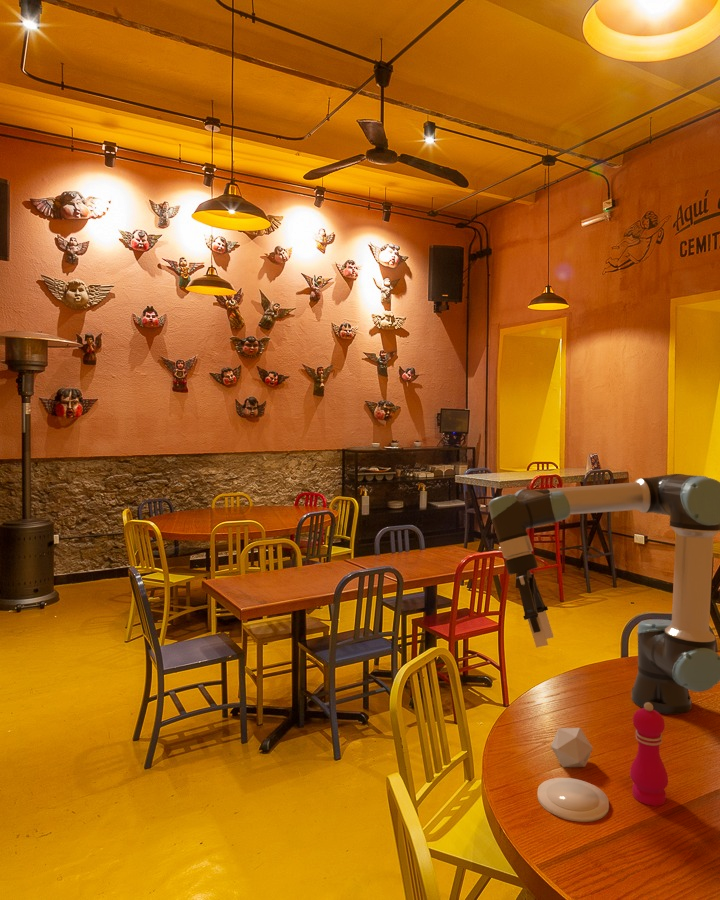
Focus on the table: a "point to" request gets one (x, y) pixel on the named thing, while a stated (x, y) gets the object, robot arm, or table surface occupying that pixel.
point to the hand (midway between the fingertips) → (545, 642)
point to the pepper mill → (649, 758)
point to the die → (571, 747)
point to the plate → (573, 799)
